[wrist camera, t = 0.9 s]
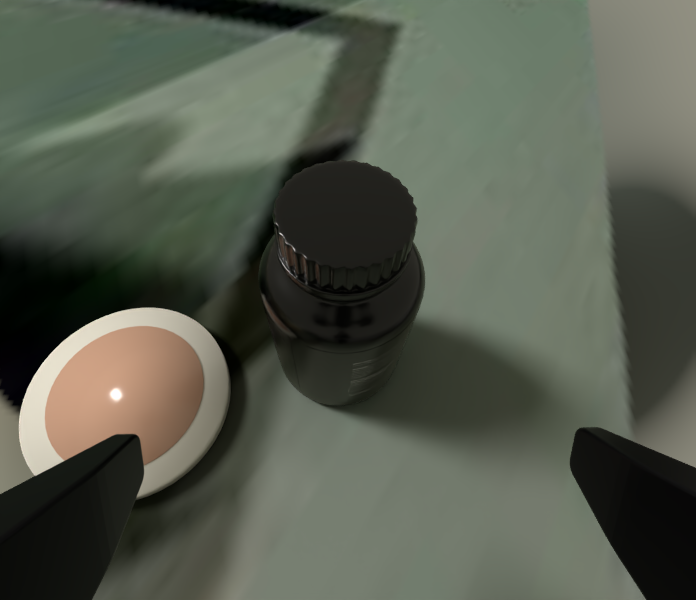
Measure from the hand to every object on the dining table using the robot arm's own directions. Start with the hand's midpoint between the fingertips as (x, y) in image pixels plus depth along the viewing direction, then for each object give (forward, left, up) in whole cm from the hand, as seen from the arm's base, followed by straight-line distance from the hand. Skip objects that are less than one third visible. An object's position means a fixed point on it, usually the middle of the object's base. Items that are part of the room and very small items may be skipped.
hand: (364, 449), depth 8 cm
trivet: (+11, +5, -13) cm, 18 cm away
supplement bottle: (+6, -5, -13) cm, 15 cm away
